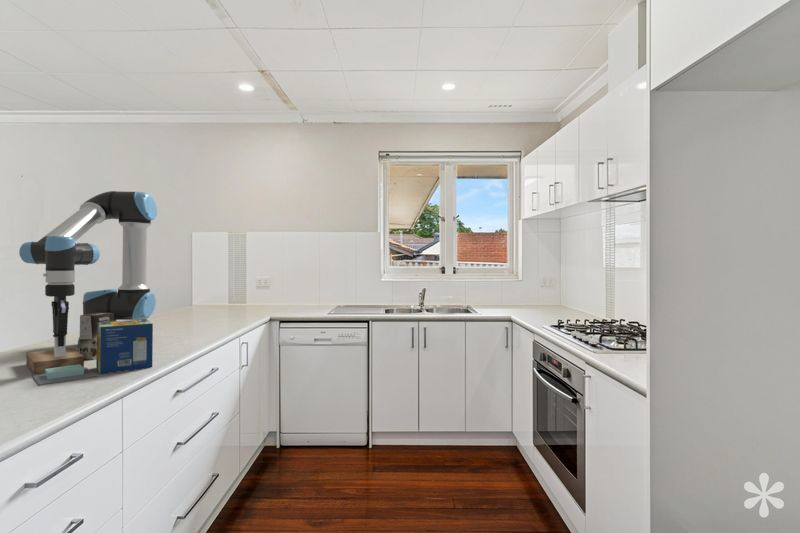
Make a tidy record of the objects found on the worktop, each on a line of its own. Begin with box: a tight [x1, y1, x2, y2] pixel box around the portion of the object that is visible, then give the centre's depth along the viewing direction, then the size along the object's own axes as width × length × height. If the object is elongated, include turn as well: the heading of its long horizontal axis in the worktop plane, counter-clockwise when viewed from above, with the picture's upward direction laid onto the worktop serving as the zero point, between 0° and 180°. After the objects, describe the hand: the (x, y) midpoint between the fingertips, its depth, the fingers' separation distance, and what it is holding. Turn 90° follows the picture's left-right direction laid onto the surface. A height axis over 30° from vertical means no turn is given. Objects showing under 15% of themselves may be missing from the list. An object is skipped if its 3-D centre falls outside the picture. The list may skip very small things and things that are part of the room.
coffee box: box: [78, 313, 114, 361], centre depth 163 cm, size 9×6×16 cm
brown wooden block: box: [25, 347, 85, 375], centre depth 149 cm, size 13×18×4 cm
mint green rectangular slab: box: [45, 364, 85, 379], centre depth 138 cm, size 9×6×2 cm, turn 136°
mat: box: [31, 366, 97, 386], centre depth 138 cm, size 14×14×1 cm
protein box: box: [95, 318, 154, 375], centre depth 149 cm, size 10×15×16 cm
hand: (60, 355), depth 142 cm, fingers closed
